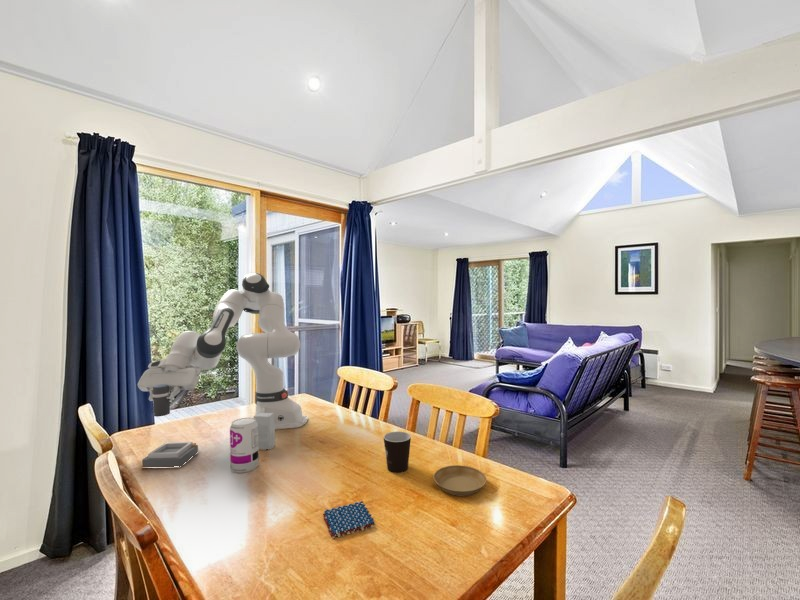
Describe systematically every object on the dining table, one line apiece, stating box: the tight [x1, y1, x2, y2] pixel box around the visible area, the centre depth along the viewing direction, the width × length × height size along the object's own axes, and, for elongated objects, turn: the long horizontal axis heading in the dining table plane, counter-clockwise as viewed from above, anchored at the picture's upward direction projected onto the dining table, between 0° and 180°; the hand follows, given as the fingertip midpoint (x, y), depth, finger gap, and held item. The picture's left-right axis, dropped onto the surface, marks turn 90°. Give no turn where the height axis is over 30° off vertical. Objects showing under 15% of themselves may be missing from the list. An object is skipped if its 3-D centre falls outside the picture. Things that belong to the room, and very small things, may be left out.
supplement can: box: [229, 417, 260, 474], centre depth 119 cm, size 8×8×15 cm
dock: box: [141, 441, 199, 467], centre depth 125 cm, size 12×11×4 cm
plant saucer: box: [433, 465, 487, 497], centre depth 106 cm, size 15×15×3 cm
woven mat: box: [322, 500, 376, 539], centre depth 90 cm, size 10×11×2 cm
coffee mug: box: [383, 431, 412, 474], centre depth 118 cm, size 12×9×10 cm
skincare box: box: [253, 413, 276, 451], centre depth 135 cm, size 6×4×12 cm
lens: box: [152, 385, 171, 418], centre depth 133 cm, size 5×5×10 cm
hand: (160, 399), depth 133 cm, fingers closed on lens, 5 cm apart
